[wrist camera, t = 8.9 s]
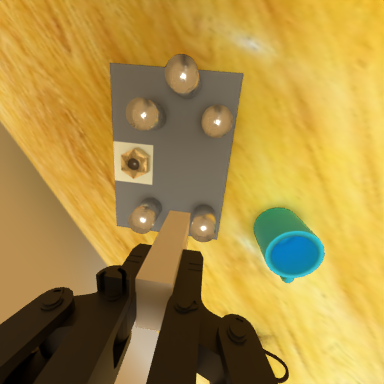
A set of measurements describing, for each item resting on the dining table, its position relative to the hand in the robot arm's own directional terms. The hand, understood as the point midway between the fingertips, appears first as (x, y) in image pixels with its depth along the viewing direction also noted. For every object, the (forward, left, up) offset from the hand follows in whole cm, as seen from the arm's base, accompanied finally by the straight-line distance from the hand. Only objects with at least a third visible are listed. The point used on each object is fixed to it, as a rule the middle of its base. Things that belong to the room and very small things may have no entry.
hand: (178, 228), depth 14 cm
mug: (+11, +16, -21) cm, 28 cm away
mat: (-1, -5, -20) cm, 21 cm away
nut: (0, -11, -20) cm, 22 cm away
